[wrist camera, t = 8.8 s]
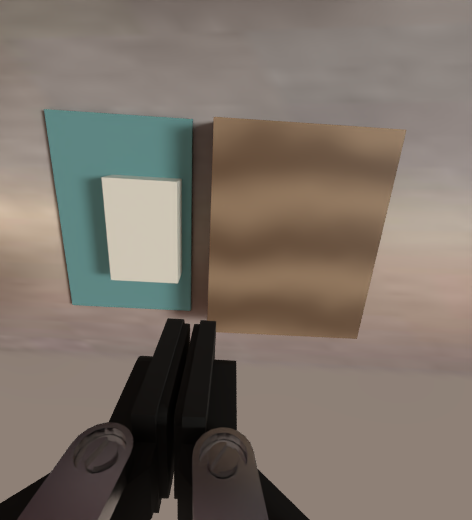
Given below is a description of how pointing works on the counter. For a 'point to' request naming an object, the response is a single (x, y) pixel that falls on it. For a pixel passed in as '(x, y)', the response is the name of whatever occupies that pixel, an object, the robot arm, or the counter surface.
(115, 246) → the cream rectangular block
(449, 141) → the counter surface
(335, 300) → the wooden box
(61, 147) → the mat
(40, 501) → the robot arm
